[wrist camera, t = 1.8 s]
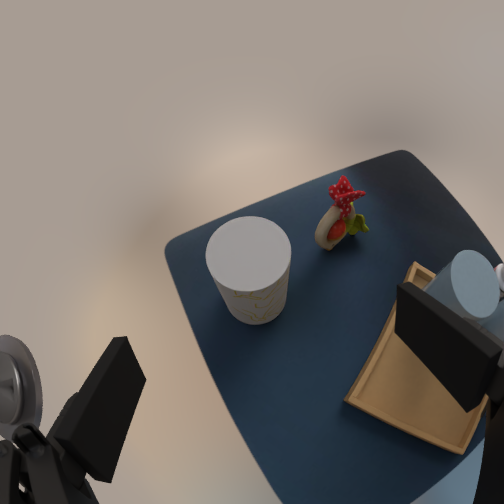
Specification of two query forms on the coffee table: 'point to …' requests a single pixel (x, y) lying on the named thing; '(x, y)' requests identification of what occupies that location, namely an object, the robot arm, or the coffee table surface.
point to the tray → (411, 389)
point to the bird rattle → (340, 216)
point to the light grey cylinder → (250, 267)
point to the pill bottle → (500, 278)
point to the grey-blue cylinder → (495, 321)
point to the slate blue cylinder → (466, 286)
